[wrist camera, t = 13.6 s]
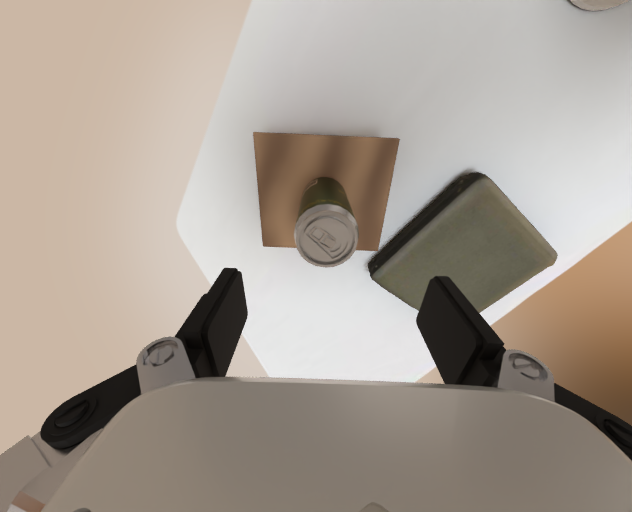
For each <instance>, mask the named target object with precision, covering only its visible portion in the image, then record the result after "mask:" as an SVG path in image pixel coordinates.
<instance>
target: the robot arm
mask: <svg viewBox="0 0 632 512" xmlns="http://www.w3.org/2000/svg"><path fill="white" fill-rule="evenodd" d="M570 1H571V2H572V3H573V4H574V5H576V6H578V7H579V8H581V9H585V10H590V11H597V10H606V9H609V8H612V7H615V6H618V5H620V4H623V3H625V2H627V1H630V0H570ZM247 315H248V312H247V305H246V299H245V292H244V286H243V280H242V274H241V272H240V271H238V270H237V269H236V268H224V269H223V270H222V272H221V273H220V275H219V276H218V278H217V279H216V281H215V282H214V284H213V285H212V287H211V289H210V290H209V292H208V293H207V294H204V295H203V296H202V297H201V299H200V300H199V302H198V303H197V305H196V306H195V308H194V309H193V310H192V312H191V314H190V315H189V317H188V318H187V319H186V321H185V323H184V324H183V325H182V327H181V328H180V330H179V331H178V333H177V334H176V335H175V337H165V338H161V339H158V340H156V341H154V342H152V343H150V344H149V345H147V346H146V347H145V348H144V349H143V350H142V351H141V352H140V354H139V355H138V357H137V363H136V365H134V366H132V367H130V368H128V369H126V370H124V371H123V372H121V373H119V374H117V375H115V376H113V377H111V378H109V379H107V380H105V381H103V382H101V383H100V384H97V385H96V386H93V387H92V388H90V389H88V390H86V391H84V392H82V393H80V394H78V395H76V396H74V397H72V398H71V399H69V400H67V401H66V402H64V403H63V404H61V405H60V406H59V407H58V408H56V409H55V410H54V411H53V412H52V413H51V414H50V415H49V416H48V418H47V419H46V421H45V422H44V424H43V426H42V428H41V431H40V432H39V433H37V434H36V435H35V436H33V437H32V438H31V437H30V436H26V437H25V438H24V439H22V440H21V441H19V442H18V443H16V444H15V445H14V446H12V447H11V448H9V449H8V450H7V451H5V452H4V453H2V454H1V455H0V512H632V426H631V425H629V424H628V423H626V422H625V421H623V420H621V419H620V418H618V417H616V416H615V415H613V414H611V413H609V412H607V411H605V410H603V409H602V408H600V407H598V406H596V405H594V404H592V403H591V402H589V401H587V400H585V399H583V398H581V397H579V396H578V395H576V394H574V393H572V392H570V391H568V390H566V389H565V388H563V387H561V386H559V385H557V384H556V383H554V378H553V374H552V373H551V371H550V370H549V368H548V367H547V366H546V365H545V364H544V363H542V362H541V361H540V360H538V359H537V358H536V357H534V356H532V355H530V354H528V353H525V352H523V351H519V350H507V351H506V349H505V348H504V347H503V345H504V343H503V342H502V340H501V339H500V338H499V337H498V335H497V334H496V333H495V332H494V331H493V329H492V328H491V327H490V326H489V325H488V323H487V322H486V321H485V320H484V319H483V317H482V316H481V315H480V314H479V312H478V311H477V310H476V309H475V308H474V306H473V305H472V304H471V303H470V302H469V300H468V299H467V298H466V297H465V295H464V294H463V293H462V292H461V291H460V289H459V288H458V287H457V286H456V285H455V283H454V282H453V281H452V280H451V279H450V277H448V276H435V277H434V278H433V279H430V281H429V284H428V287H427V290H426V292H425V295H424V298H423V301H422V304H421V307H420V310H419V313H418V315H417V319H416V322H417V326H418V328H419V330H420V332H421V334H422V336H423V339H424V341H425V343H426V345H427V347H428V349H429V351H430V353H431V356H432V358H433V360H434V362H435V364H436V366H437V368H438V370H439V372H440V374H441V377H442V379H443V381H444V383H445V384H433V383H409V382H386V381H359V380H332V379H302V378H271V377H225V375H226V373H227V370H228V367H229V365H230V362H231V359H232V357H233V354H234V351H235V349H236V346H237V343H238V341H239V338H240V335H241V333H242V330H243V328H244V325H245V322H246V320H247Z"/></svg>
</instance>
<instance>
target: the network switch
mask: <svg viewBox="0 0 632 512" xmlns="http://www.w3.org/2000/svg"><path fill="white" fill-rule="evenodd" d="M557 256H558V255H557V252H556V251H555V250H554V249H553V248H552V247H551V245H550V244H549V243H548V242H547V241H546V240H545V239H544V238H543V236H542V235H541V234H540V233H539V232H538V231H537V229H536V228H535V227H534V226H533V225H532V224H531V223H530V222H529V221H528V220H527V219H526V217H525V216H524V215H523V214H522V213H521V212H520V211H519V210H518V209H517V207H516V206H515V205H514V204H513V203H512V202H511V201H510V200H509V199H508V197H507V196H506V195H505V194H504V193H503V192H502V191H501V190H500V189H499V187H498V186H497V185H496V184H495V183H494V182H493V181H492V180H491V179H490V178H489V177H487V176H486V175H485V174H482V173H479V172H474V173H470V174H468V175H466V176H463V177H460V178H459V179H458V180H457V181H456V182H455V183H454V184H452V185H451V186H450V187H449V188H448V189H447V190H446V191H445V192H444V193H443V194H442V195H441V196H439V197H438V198H437V199H436V200H435V201H434V202H433V203H432V204H431V205H430V206H429V207H428V208H427V209H426V210H425V211H424V212H423V213H421V214H420V215H419V216H418V217H417V218H416V219H415V220H414V221H413V222H412V223H411V224H410V225H409V226H408V227H407V228H406V229H404V230H403V231H402V232H401V233H400V234H399V235H398V236H397V237H396V238H395V239H394V240H393V241H392V242H391V243H390V244H389V245H388V246H387V247H385V248H384V249H383V250H382V251H381V252H380V253H379V254H378V255H377V256H376V257H375V258H374V259H373V260H372V261H371V262H370V263H369V265H368V268H369V272H370V276H371V278H372V280H374V281H375V282H376V283H378V284H379V285H380V286H381V287H383V288H384V289H386V290H387V291H388V292H390V293H392V294H393V295H395V296H396V297H398V298H399V299H401V300H402V301H404V302H405V303H407V304H408V305H409V306H411V307H413V308H415V309H417V310H418V311H419V310H420V307H421V304H422V301H423V298H424V295H425V292H426V290H427V287H428V284H429V281H430V279H433V278H434V277H435V276H448V277H450V279H451V280H452V281H453V282H454V283H455V285H456V286H457V287H458V288H459V289H460V291H461V292H462V293H463V294H464V295H465V297H466V298H467V299H468V300H469V302H470V303H471V304H472V305H473V306H474V308H475V309H476V310H477V311H478V312H479V313H480V312H481V311H483V310H484V309H486V308H487V307H489V306H490V305H492V304H493V303H495V302H496V301H498V300H499V299H501V298H502V297H504V296H505V295H507V294H508V293H510V292H511V291H513V290H514V289H516V288H517V287H519V286H520V285H522V284H523V283H525V282H526V281H528V280H529V279H530V278H532V277H533V276H535V275H537V274H538V273H540V272H541V271H543V270H544V269H546V268H547V267H549V266H552V265H553V264H554V263H555V261H556V259H557Z"/></svg>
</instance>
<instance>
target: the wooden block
mask: <svg viewBox="0 0 632 512" xmlns="http://www.w3.org/2000/svg"><path fill="white" fill-rule="evenodd" d="M253 136H254V148H255V159H256V171H257V183H258V194H259V206H260V217H261V229H262V240H263V246H265V247H290V248H297V245H296V243H295V238H294V230H295V224H296V220H297V216H298V212H299V207H300V203H301V199H302V195H303V192H304V190H305V188H306V186H307V185H308V184H309V183H310V182H311V181H313V180H315V179H317V178H321V177H328V178H333V179H335V180H336V181H338V182H339V183H340V184H341V185H342V186H343V188H344V190H345V193H346V195H347V198H348V201H349V203H350V206H351V209H352V211H353V214H354V217H355V219H356V222H357V225H358V229H359V238H358V243H357V246H356V250H365V251H378V247H379V242H380V237H381V232H382V227H383V222H384V216H385V211H386V206H387V201H388V196H389V191H390V186H391V181H392V176H393V171H394V165H395V160H396V155H397V150H398V145H399V140H400V139H398V138H378V137H355V136H332V135H309V134H286V133H263V132H253Z"/></svg>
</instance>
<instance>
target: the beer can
mask: <svg viewBox="0 0 632 512" xmlns="http://www.w3.org/2000/svg"><path fill="white" fill-rule="evenodd" d="M294 238H295V243H296V245H297V249H298V251H299V253H300V254H301V256H302V257H303V258H304V259H305V260H306V261H307V262H309V263H311V264H313V265H315V266H320V267H334V266H337V265H339V264H342V263H344V262H345V261H346V260H348V259H349V258H350V257H351V256H352V254H353V253H354V252H355V250H356V246H357V243H358V238H359V229H358V225H357V222H356V219H355V217H354V214H353V211H352V209H351V206H350V203H349V201H348V198H347V195H346V193H345V190H344V188H343V186H342V185H341V184H340V183H339V182H338V181H336V180H335V179H333V178H328V177H321V178H317V179H315V180H313V181H311V182H310V183H309V184H308V185H307V186H306V188H305V190H304V192H303V195H302V199H301V203H300V207H299V212H298V216H297V220H296V224H295V230H294Z"/></svg>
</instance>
